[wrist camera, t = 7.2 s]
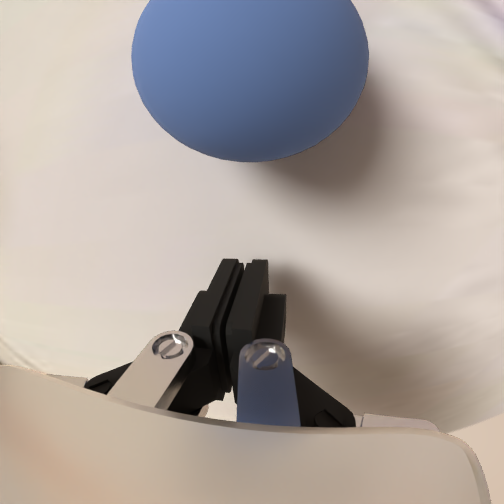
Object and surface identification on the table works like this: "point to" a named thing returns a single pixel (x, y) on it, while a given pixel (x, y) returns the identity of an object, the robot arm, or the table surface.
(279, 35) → the ball
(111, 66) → the table surface
